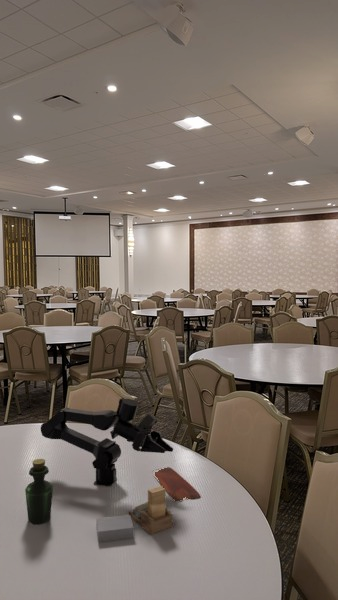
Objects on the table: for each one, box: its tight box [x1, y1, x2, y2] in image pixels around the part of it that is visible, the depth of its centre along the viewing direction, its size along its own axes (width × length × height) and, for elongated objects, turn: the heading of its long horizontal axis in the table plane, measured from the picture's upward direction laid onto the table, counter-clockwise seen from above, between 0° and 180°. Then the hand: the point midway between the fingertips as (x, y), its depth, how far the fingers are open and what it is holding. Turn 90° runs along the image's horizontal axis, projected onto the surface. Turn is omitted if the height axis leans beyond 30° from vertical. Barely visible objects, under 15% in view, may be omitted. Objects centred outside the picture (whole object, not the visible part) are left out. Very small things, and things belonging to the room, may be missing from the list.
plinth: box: [95, 514, 135, 543], centre depth 130 cm, size 7×10×3 cm
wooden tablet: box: [155, 466, 201, 502], centre depth 162 cm, size 27×10×2 cm, turn 22°
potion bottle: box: [24, 458, 54, 525], centre depth 137 cm, size 8×8×18 cm
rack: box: [128, 501, 175, 535], centre depth 137 cm, size 13×8×4 cm, turn 34°
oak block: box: [147, 485, 166, 519], centre depth 134 cm, size 2×5×8 cm, turn 124°
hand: (169, 450), depth 152 cm, fingers open, 9 cm apart
